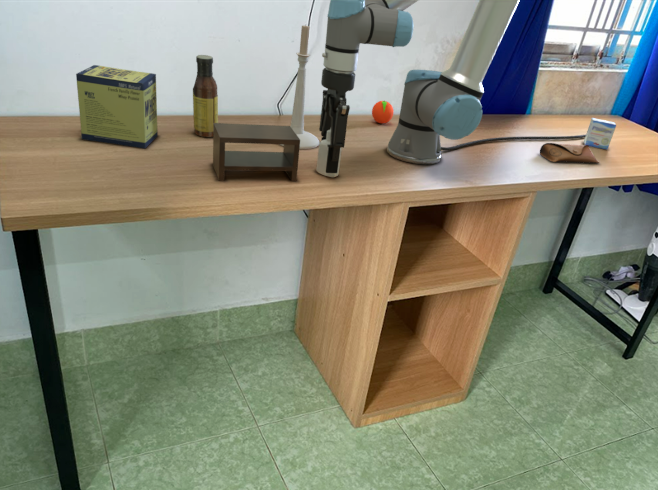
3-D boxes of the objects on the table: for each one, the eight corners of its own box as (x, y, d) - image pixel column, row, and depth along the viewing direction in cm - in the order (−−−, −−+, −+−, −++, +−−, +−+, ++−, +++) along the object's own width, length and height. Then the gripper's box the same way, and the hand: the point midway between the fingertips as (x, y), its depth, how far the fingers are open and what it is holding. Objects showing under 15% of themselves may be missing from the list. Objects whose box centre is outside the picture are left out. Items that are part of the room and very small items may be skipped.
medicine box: (584, 145, 210) (592, 120, 205) (583, 141, 213) (591, 117, 209) (607, 150, 209) (616, 125, 204) (606, 146, 212) (615, 121, 208)
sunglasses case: (554, 162, 186) (553, 139, 186) (539, 166, 192) (539, 144, 192) (601, 163, 192) (601, 141, 192) (586, 167, 199) (585, 146, 198)
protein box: (146, 149, 148) (143, 83, 140) (80, 140, 147) (74, 72, 139) (159, 136, 157) (157, 73, 149) (97, 127, 156) (91, 63, 148)
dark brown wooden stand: (286, 165, 152) (290, 126, 147) (296, 181, 145) (300, 139, 139) (212, 164, 146) (213, 122, 141) (218, 180, 138) (219, 137, 133)
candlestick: (266, 143, 165) (273, 22, 149) (280, 130, 175) (288, 17, 160) (312, 152, 164) (325, 31, 148) (323, 139, 175) (335, 25, 159)
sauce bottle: (207, 129, 167) (208, 52, 157) (222, 136, 164) (224, 58, 154) (187, 132, 163) (187, 54, 152) (203, 139, 160) (203, 60, 149)
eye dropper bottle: (329, 169, 155) (335, 121, 148) (340, 177, 151) (346, 129, 144) (314, 170, 152) (319, 122, 146) (324, 178, 149) (329, 129, 142)
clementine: (392, 128, 194) (396, 105, 190) (370, 125, 193) (374, 102, 189) (390, 121, 200) (394, 99, 197) (369, 118, 200) (373, 96, 196)
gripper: (312, 59, 145) (303, 154, 157) (335, 79, 130) (323, 182, 142) (342, 61, 147) (331, 155, 159) (368, 81, 133) (353, 182, 145)
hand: (327, 167), depth 151 cm, fingers closed on eye dropper bottle, 5 cm apart
